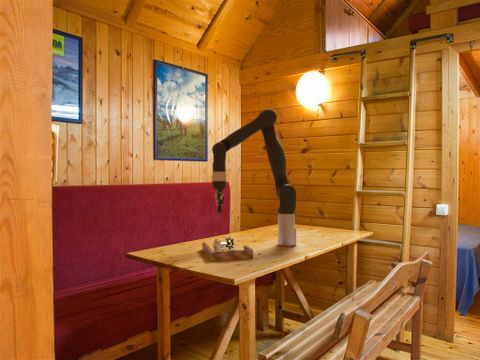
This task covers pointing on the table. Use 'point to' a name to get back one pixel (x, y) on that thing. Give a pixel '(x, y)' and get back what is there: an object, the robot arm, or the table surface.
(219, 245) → the valve
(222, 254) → the rack
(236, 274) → the table surface
